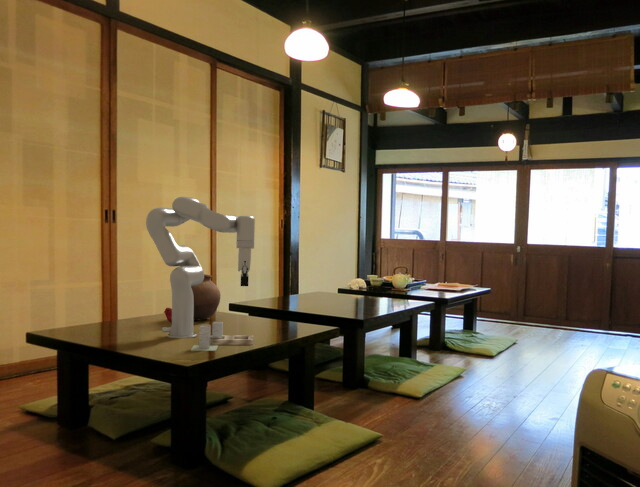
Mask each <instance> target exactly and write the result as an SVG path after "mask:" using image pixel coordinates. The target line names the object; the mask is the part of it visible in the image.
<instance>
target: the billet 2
mask: <svg viewBox="0 0 640 487" xmlns="http://www.w3.org/2000/svg"><path fill="white" fill-rule="evenodd" d="M211 327H212V328H211V329H212V333H211V334H212V339H223V335H224V321H212V326H211Z"/></svg>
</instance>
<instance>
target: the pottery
mask: <svg viewBox="0 0 640 487" xmlns="http://www.w3.org/2000/svg"><path fill="white" fill-rule="evenodd" d="M212 278H213V275H209V274H205V273H204V280H203V282H202V283H201V284H199V285H196V286H191V288H192V291H193V295H194V320H193V321H203V320H206V319H210V318H211V317H213V316H214V314H215V313H216V311H217V309H218V307H219V305H220V303H221V290H220V289H219V287H218V286H217V284H215V283H214V282H213V281H212V280H211V279H212Z"/></svg>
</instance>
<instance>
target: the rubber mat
mask: <svg viewBox="0 0 640 487" xmlns="http://www.w3.org/2000/svg"><path fill="white" fill-rule="evenodd" d="M218 348H219V345H210V348H209V349H199V344H193V346H192V348H191V349H190V351H191V352H194V351H196V352H197V351H199V352H200V351H201V352H202V351H203V352H206V351H210V352H212V351H213V352H214V351H215V352H216V351H217V349H218Z"/></svg>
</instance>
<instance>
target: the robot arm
mask: <svg viewBox="0 0 640 487" xmlns="http://www.w3.org/2000/svg"><path fill="white" fill-rule="evenodd" d="M190 220H191V221H194V222H197V223H199V224H200V225H201V226H203V227H205V228H207V229H210V230H213V231H215V232H218V233H224V234H225V233H229V234H230V233H231V234H232V233H233V234H234V233H235V234H236V249H238V255H237V256H238V257H237V258H238V261H237V263H238V264H237V265H238V266H237V271H238V272H240V271H241V273H240V287H249V272H250V271H251V266H252V265H251V262H252V250H253V249H255V230H256V227H255V226H256V225H255V224H256V220H255V217H254V216H251V215H250V216H249V215H235V214H234V215H232V214H221V213H219V212H216V211H214V210H211V208H210V206H209V205H208V204H205V203H202V202H200V201H199V200H198V199H197V198H194V197H188V196H179V197H177V198H175V199H174V200H173V202H172V205H171V207H170V208H169V207H156V208H153V209H151V210H150V211H149V212H148V214H147V216H146V221H145V225H146V231H147V233H148V234H149V236H150V238H151V239H152V241H153V244H154V245H155V246H156V247H155V248H156V249H157V251H158V252H159V254H160V257H161V258H162V261H163V262H164V264H165V265H166V266H168V267H175V268H174V269H172V270H171V272H170V275H169V283H170V287H171V288H170V289H171V309H172V323H171V326H169V327H161V332H162V333H168V334H167V337H168V338H170V339H193V338H197V335H198V334H197V332H194V321H195V320H194V295H193V291H192V288H191V286H196V285H199V284H201V283H202V282H203V280H204V274H205V271H204V269H203V267H202V265H201V263H200V261H199V259H198V257H197V256H196V254H195V251H194V250H193V249H191V247H189V246H187V245H183V244H182V245H179V244H178V243H177V242H176V240H175V238H174V236H173V235H172V234H173V233H171V232H170V231H169V230H168V229H167V228H166V227H172V228H175V227H178V226H181V225H183V224H185V223H186V222H188V221H190Z"/></svg>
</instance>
